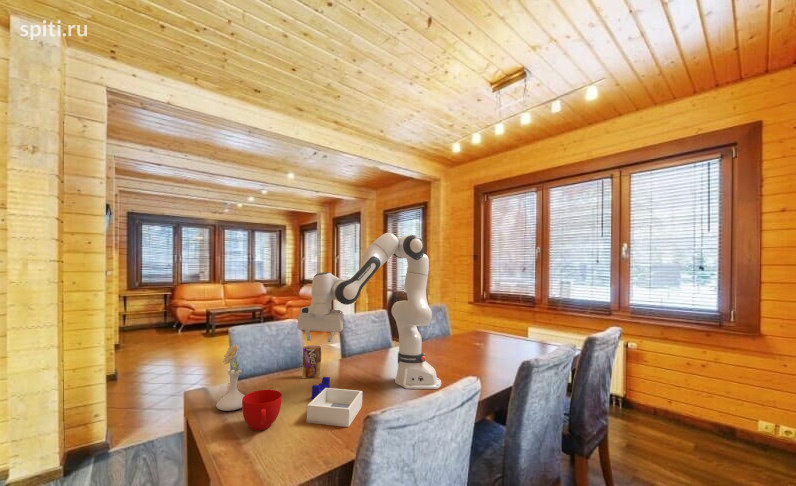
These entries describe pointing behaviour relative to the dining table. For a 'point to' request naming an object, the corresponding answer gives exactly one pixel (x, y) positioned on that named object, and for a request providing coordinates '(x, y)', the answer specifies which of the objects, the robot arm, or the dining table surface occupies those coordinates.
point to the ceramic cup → (261, 408)
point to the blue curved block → (320, 387)
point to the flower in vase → (233, 396)
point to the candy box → (311, 361)
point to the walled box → (334, 407)
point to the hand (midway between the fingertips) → (319, 341)
